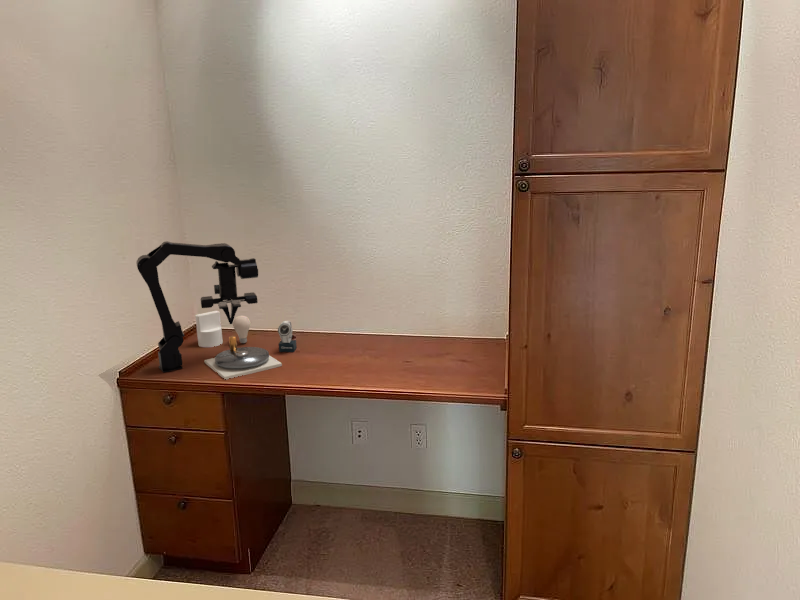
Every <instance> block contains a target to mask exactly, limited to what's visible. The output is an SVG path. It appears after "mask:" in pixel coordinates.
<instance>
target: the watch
mask: <svg viewBox="0 0 800 600" xmlns="http://www.w3.org/2000/svg"><path fill="white" fill-rule="evenodd" d="M293 331H294V329H293V326H292V321H291V320H283V321H282V322H281V323H280V325H279V326H278V327H277V333H278V335H279V338H280V342H278V352H279V353H295V351H296V350H297V348H298V347H297V346H298V345H297V339H295V340H293V339H292V338H293Z"/></svg>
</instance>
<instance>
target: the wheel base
mask: <svg viewBox="0 0 800 600" xmlns="http://www.w3.org/2000/svg"><path fill="white" fill-rule="evenodd" d="M204 364H206V366H208V367H209V368H211V370H213V371H214V372H215V373H216V372H217V373H218V374H217V373H216V374H217V375H218V376H220V377H221V378H222V379H223V378H224V379H223V380H225V379H226V380H230V379H229V378H231V379H234V377H235V378H238V376H239V377H243V376H246V375H251V374H255V373H259V372H263V371H267V370H271V369H275V368H280V367H282V366H283V364H282V362H281V361H279V360H277V359H276V358H274V356H273V357H272V356H271V355H270V354H269V359H268V360H267V361H266V362H265V363H263V364H260V365H257V366H254V367H249V368H243V369H227V368H222V367H219V366H217V365H216V364H215V357H214V358H213V357H211V358H207V359H204ZM242 375H243V376H242Z"/></svg>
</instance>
